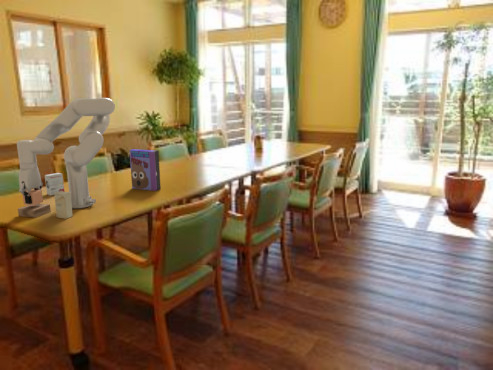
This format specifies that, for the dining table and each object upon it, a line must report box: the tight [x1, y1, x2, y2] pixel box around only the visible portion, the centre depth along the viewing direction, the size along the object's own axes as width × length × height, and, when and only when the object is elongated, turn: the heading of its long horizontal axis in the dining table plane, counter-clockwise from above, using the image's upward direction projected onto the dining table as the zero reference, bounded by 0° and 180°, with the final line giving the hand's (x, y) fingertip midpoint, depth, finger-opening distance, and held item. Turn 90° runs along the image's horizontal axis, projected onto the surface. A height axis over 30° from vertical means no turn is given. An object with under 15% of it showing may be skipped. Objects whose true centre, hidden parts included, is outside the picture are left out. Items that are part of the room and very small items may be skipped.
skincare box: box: [54, 191, 73, 220], centre depth 194 cm, size 6×4×12 cm
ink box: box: [44, 172, 66, 196], centre depth 238 cm, size 9×5×12 cm, turn 141°
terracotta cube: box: [22, 189, 44, 206], centre depth 199 cm, size 6×6×6 cm
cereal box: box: [128, 148, 162, 192], centre depth 246 cm, size 17×5×24 cm, turn 68°
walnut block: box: [17, 203, 52, 218], centre depth 201 cm, size 10×10×4 cm
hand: (33, 201), depth 200 cm, fingers closed on terracotta cube, 5 cm apart
